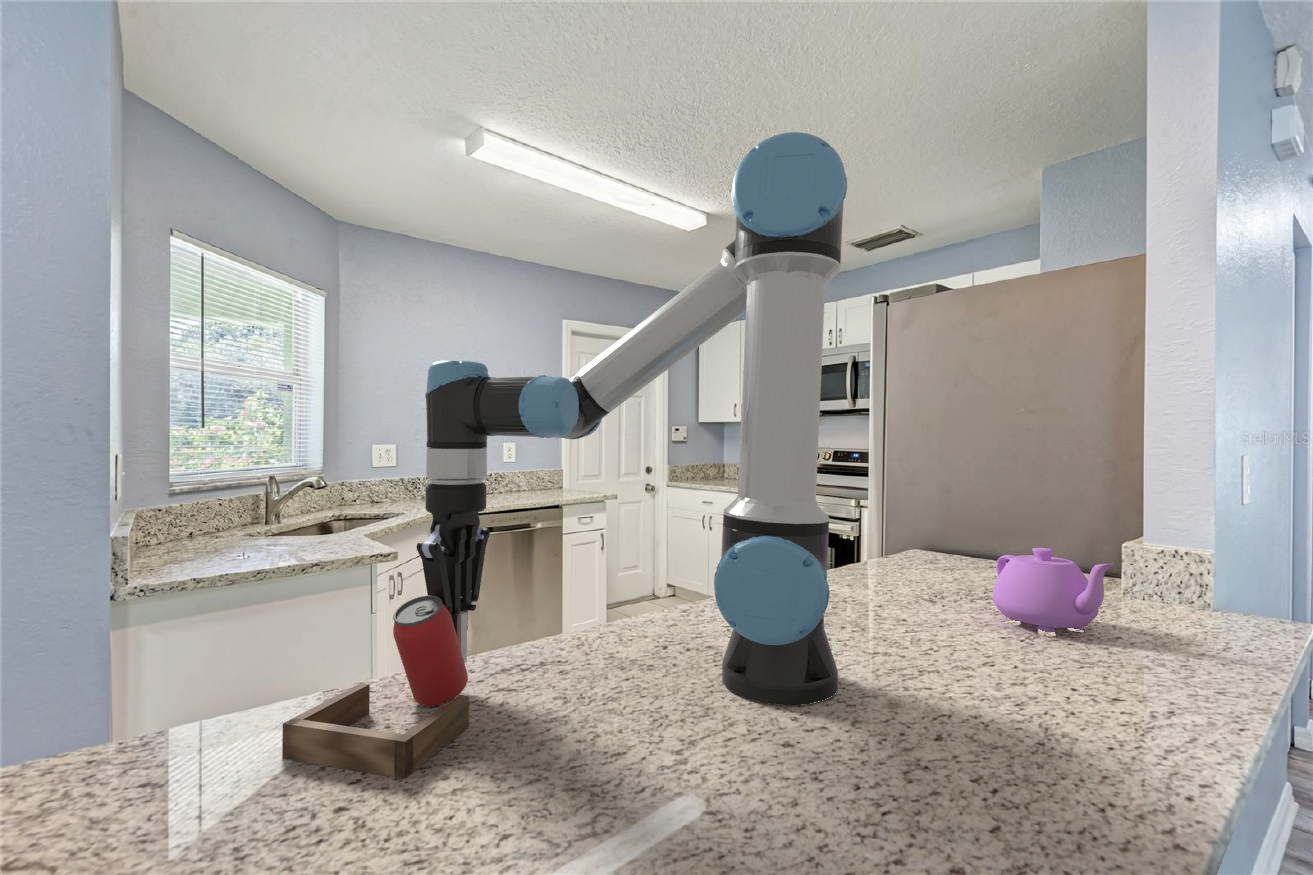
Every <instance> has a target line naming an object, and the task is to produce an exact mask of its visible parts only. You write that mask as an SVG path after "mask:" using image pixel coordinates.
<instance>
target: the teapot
mask: <svg viewBox="0 0 1313 875" xmlns="http://www.w3.org/2000/svg"><path fill="white" fill-rule="evenodd" d="M1032 552H1033V555H1031V554H1023V555H1021V554H1020V555H1012V554H1004V555H1002V556H1000V557H999V558H997V561H996V574H997V578H996V581H995V583H994V586H993V590H992V591H993V592H992V602H993V604H994V606H995V608H997V610H998V611H999V612H1000V613H1001V614H1002V615H1003V616H1004V617H1006V618H1009V619H1012V620H1015V621H1020V622H1022V623H1025V624H1030V625H1034V626H1035V625H1036V626H1037V630H1038V629H1040V630H1042V631H1045V632H1056V633H1057V630H1056V628H1057V629H1059V628H1061V629H1066V628H1074V629H1080V630H1081V629H1084V627H1086V626H1088V625H1089V624H1090V623H1091V622H1093V621H1094V620H1095V619H1096V618H1097V617H1098V615H1099V609H1100V607H1101V606H1102V605H1103V604H1102V603H1103V601H1104V597H1105V587H1104V577H1105V573H1106V571H1107V570H1108V569H1109V568H1110V567H1111V566H1113V565H1114V564H1115V562H1111V563H1109V562H1108V563H1100V564H1095V565H1094V566H1093V567H1092V568H1091V570H1090V572H1089V578H1087V577H1086V575H1085V574H1084V572H1083V571H1082V570H1081V568H1080V567H1079V565H1078V564H1077V563H1076V562H1074V560H1070V559H1067V558H1062V557H1057V556H1053V554H1054V549H1052V548H1047V547H1033V548H1032Z"/></svg>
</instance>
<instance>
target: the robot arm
mask: <svg viewBox="0 0 1313 875" xmlns="http://www.w3.org/2000/svg"><path fill="white" fill-rule="evenodd" d="M847 192H848V178H847V174H846V171H845V166H844V162H843V160H842V159H841V156H840V155H839V153H838V152H837V150H836V149H835V148H834V147H832V146H831V144H830V143H828V142H827V141H825V140H824V139H823V138H820V137H818V136H816V135H814V134H811V133H806V132H800V131H799V132H797V131H792V132H791V131H790V132H783V133H779V134H776V135H773V136H771V137H770V136H769V137H768V138H765V139H763V140H762V141H760V142H759V143H757V144H756V145H755V146H754V147H753V148H752V149H750V151H748V153H746V154H745V155H744V156H743V158H742V159H741V161H740V162H739V164H738V166H737V168H736V170H735V172H734V176H733V180H732V186H731V193H730V194H731V195H730V197H731V204H732V209H733V211H734V213H735V216H736V219H735V239H734V240H733V241H732V242H730V243H729V244H728V245H727V246H725V247H724V248H723V249H722V251H721V252H722V254H721V258H720V261H718V262H717V263H716V264H715V265H713V267H711V268H710V269H708V270H707V271H706V272H705V273H703V274H701V276H699V277H698V278H697V279H695V280H694V281H693V282H691V283H690V284H689V285H688V286H686V287H685V288H684V289H682V290H681V291H680V292H678V294H676V295H675V296H673V297H672V298H671V299H670V300H669V301H667V302H666V303H664V304H663V305H662V306H661V307H659V308H658V309H657V310H655V311H654V312H653V313H652V314H650V315H649V316H648V317H646V318H645V319H644V320H642V321H641V322H640V323H638V324H637V325H636V326H634V327H633V328H632V329H630V330H629V331H628V332H627V333H626V334H624V335H623V336H622V337H620V338H619V339H618V340H616V342H614V343H613V344H611V345H610V346H609V347H607V348H606V349H605V350H603V351H602V352H601V353H600V354H598V355H596V357H594V358H593V359H592V360H591V361H589V362H588V363H587V364H585V365H584V366H582V367H581V368H580V369H579V370H578V371H577V372H576V373H574V374H573V375H571V376H570V377H568V378H566V377H562V376H561V377H560V376H549V375H545V374H543V375H537V376H512V377H506V376H505V377H491V376H490V375H489V371H488V367H487V366H486V364H484V363H481V362H478V361H470V360H439V361H438V360H437V361H435V362H433V363H432V364H430V365H429V367H428V371H427V379H426V380H427V383H426V384H427V385H426V392H425V394H424V397H425V402H426V403H425V404H426V406H425V407H426V462H425V463H426V469H425V477H426V479H427V480H430V482H428V483H427V485H425V506H424V507H425V510H426V511H427V512H428V513H429V514H431V515H432V522H431V524H430V529H429V530H430V531H429V533H430V536H429V537H428V538H427V539H426V541H418V542H417V544H416V551H417V553H418V556H420V559H421V563H422V569H423V575H424V581H425V588H426V592H427V594H426V595H431V596H437V597H439V598H440V599H441V600H442V603H443V604H444V605H445V607H446V608H447V609H448V611H449V612H450V614H451V617H452V621H453V624H454V628H455V631H456V635H457V638H458V642H459V646H460V649H461V653H462V656H463V660H464V663H465V664H466V663H467V662H468V657H467V656H468V628H469V627H468V626H469V623H468V622H469V621H468V620H469V618H468V616H469V611H471V612H475V610H476V608H477V604H472V603H474V602H475V603H476V602H478V601H479V598H480V589H481V584H482V577H483V570H484V561H485V557H486V556H485V555H486V548H487V544H488V541H489V537H490V535H491V530H490V528H488V527H487V528H485V527H482V526H481V525H480V522H481V521H480V520H481V519H480V517H479V513H481V512H484V511H485V509H486V508H487V485H488V484H487V485H486V483H485V482H483V480H484V479H487V477H488V448H487V447H488V444H487V443H488V437H497V436H498V437H499V436H500V437H525V438H526V437H528V438H530V437H531V438H533V437H534V438H539V439H540V438H541V439H544V438H546V439H549V438H550V439H552V438H555V439H556V438H557V439H565V440H579V439H582V438H585V437H588V436H590V435H592V434H593V433H595V432H596V431H597V430H598V428H599V427H600V425H601V422H602V419H603V418H605V417H606V416H607V415H608V414H609V413H611V412H612V411H614V410H615V409H616V408H618V407H620V406H621V405H622V404H623V403H625V402H626V401H627V400H628V399H630V398H631V397H632V396H634V395H635V394H637V393H638V392H640V391H641V390H642V389H644V388H645V387H646V386H648V385H649V384H650V383H651V382H653V381H654V380H657V378H659V376H661V375H662V374H664V373H665V372H667V371H668V370H669V369H671V368H672V367H673V366H675V365H676V364H677V363H678V362H680V361H682V360H683V359H684V358H685V357H687V356H688V355H690V353H692V352H694V351H695V350H696V349H697V348H699V347H700V346H701V345H703V344H704V343H705V342H707V341H708V340H710V339H711V338H713V336H716V334H718V333H719V332H720V331H722V330H723V329H724V328H726V327H727V326H728V325H730V324H731V323H732V322H734V321H735V320H737V319H738V318H739V317H741V316H742V315H744V313H745V323H744V324H745V325H744V350H743V368H742V369H743V370H742V390H741V391H742V394H741V411H740V412H741V417H740V418H741V419H740V439H739V440H740V441H739V457H738V458H739V461H738V462H739V463H738V479H737V480H738V482H737V483H738V484H737V486H738V487H737V496H736V497H735V499H734V500H733V501H732V502H731V503H730V504H729V505H727V506H726V507H725V508H724V509H723V518H722V519H723V522H722V532H721V533H722V537H721V554H720V555H721V557H720V560H719V563H718V564H717V566H716V571H715V572H714V577H713V588H714V589H713V590H714V597H715V602H716V605H717V607H718V610H719V612H720V614H721V616H722V618H723V619H724V620H725V622H726V623H727V624H728V625H729V627H730V628H732V632H731V633H730V637H729V641H728V644H727V647H726V649H725V652H724V655H723V656H724V657H723V660H722V663H721V675H722V676H721V679H722V683H723V685H724V687H726V689H727V690H729V691H731V692H732V693H733V694H735V693H736V695H738V696H739V697H742V696H743V698H744V697H745V699H748V700H751V701H754V700H755V701H754V702H758V703H762V704H763V703H764V704H768V703H770V704H769V705H776V704H783V705H782V706H802V705H801V704H807V705H811V704H810V703H814V702H818V701H822V700H825V699H827V698H829V697H831V696H833V695H834V694H835V693H836V694H837V692H838V690H839V671H838V668H837V667H838V666H837V664H836V661H835V657H834V655H833V651H832V649H831V646H830V643H829V639H828V637H827V636H828V635H827V634H826V630H825V619H824V618H825V616H824V615H825V614H826V610H827V608H828V605H829V599H830V585H829V583H828V557H829V552H828V551H829V532H830V531H829V530H830V528H829V527H830V517H829V515H828V514H826V512H825V511H824V510H823V509H822V508H821V507H820V505H818V502H817V483H818V482H817V480H818V479H817V478H818V460H819V457H818V456H819V434H820V415H821V414H820V413H821V410H820V409H821V390H822V389H821V388H822V387H821V386H822V367H823V364H822V362H823V340H824V320H825V302H826V301H825V300H826V299H825V298H826V296H825V295H826V287H827V285H828V283H829V282H831V280H833V278H835V276H837V275H838V274H839V273H840V271H841V261H842V260H841V258H842V256H841V255H842V240H843V239H842V238H843V236H842V235H843V216H844V215H843V214H844V201H845V199H846V197H847V196H846V195H847ZM836 691H837V692H836ZM836 694H835V695H836ZM835 695H834V696H835ZM834 696H833V697H834ZM831 698H832V697H831ZM829 699H830V698H829ZM827 700H828V699H827ZM825 701H826V700H825ZM822 702H823V701H822ZM818 703H819V702H818ZM814 704H815V703H814Z"/></svg>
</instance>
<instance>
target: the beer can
mask: <svg viewBox="0 0 1313 875" xmlns="http://www.w3.org/2000/svg"><path fill="white" fill-rule="evenodd" d="M392 620H393V621H394V622H393V629H392V631H393V632H392V633H393V639H394V641H395V645H396V648H397V651H398V654H399V657H400V660H401V663H402V666H403V669H404V672H405V675H406V678H407V681H408V685H409V687H410V691H411V694H412V696H413V699H414V701H415V702H416V703H418V704H419V705H420V706H422V707H423V706H424V707H430V708H432V707H438V706H441V705H446V704H447V703H449V702H450V701H452V700H453V699H454V698H456V697H457V696H459V695H461V694H462V692H463V691H464V690H465V688H466V686H467V684H468V680H469V676H468V672H467V671H468V670H467V667H466V663H464V660H463V656H462V653H461V649H460V646H459V642H458V638H457V635H456V631H455V628H454V624H453V621H452V617H451V614H450V612H449V611H448V609H447V608H446V607H445V605H444V604H443V603H442V600H441V599H440V598H439V597H437V596H431V595H428V594H426V595H421V596H418V597H414V598H412V599H410V600H407V601H406V602H405V603H403V604H401V605H400V606H399V607H398V608H397V609H396V610H395V611H394V613H393V617H392Z"/></svg>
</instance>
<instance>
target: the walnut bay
mask: <svg viewBox="0 0 1313 875" xmlns="http://www.w3.org/2000/svg"><path fill="white" fill-rule="evenodd" d="M370 684H371V683H365V682H360V683H358V684H356V685H354V686H353V687H350V688H348V689H346V690H344V691H343V692H341V693H339V694H337V695H335V696H333V697H331V698H329V699H327V700H325V701H323V702H322V703H320V704H318V705H315V706H314V707H311V708H310V709H308V710H306V711H304V712H302V713H299V714H298V715H297V716H295V717H293V718H290V719H289V720H287V721H285V722H283V723H282V738H281V739H282V743H281V744H282V748H281V749H282V752H281V753H282V754H281V756H282V757H281V759H283V760H291V761H295V762H302V763H307V764H308V763H309V764H315V765H319V766H326V767H330V768H337V769H343V770H349V771H355V772H362V773H367V774H372V775H373V774H374V775H380V776H384V777H390V778H391V777H392V778H395V779H396V778H397V779H403V780H406V779H407V778H408V777H410V775H412V774H413V773H414V772H415V771H417V770H418V769H419V768H420V767H422V766H423V765H425V763H427V762H428V761H429V760H431V759H432V758H433V757H434V756H435V755H436V754H438V753H439V752H440V751H441V750H443V749H444V748H445V747H447V746H448V745H449V744H450V743H451V742H452V741H454V740H455V739H457V737H459V736H460V735H462V734H463V733H464V732H465V731H466V730H468V729H469V726H470V722H469V721H470V700H469V699H470V696H469V695H463V694H462V695H461V694H459V695H458V696H457V697H455V698H454V699H453V700H451V701H449V702H447V703H445V704H443V706H442V707H440V708H439V709H437V710H436V711H434V712H433V713H431V714H430V715H429V716H426V718H424V719H423V720H421V721H420V722H418V723H417V724H416V725H414V726H412V727H411V728H410V729H409V730H407V731H405V732H404V733H395V732H391V731H390V732H389V731H382V730H376V729H375V730H374V729H369V728H364V727H363V728H362V727H356V726H352V725H353V724H354V723H357V722H358V721H360V720H362V719H363V718H365V717H366V716H368V715H370V699H371V697H370V694H371V693H370V691H371V690H370V688H371V687H370V686H371V685H370Z"/></svg>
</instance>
